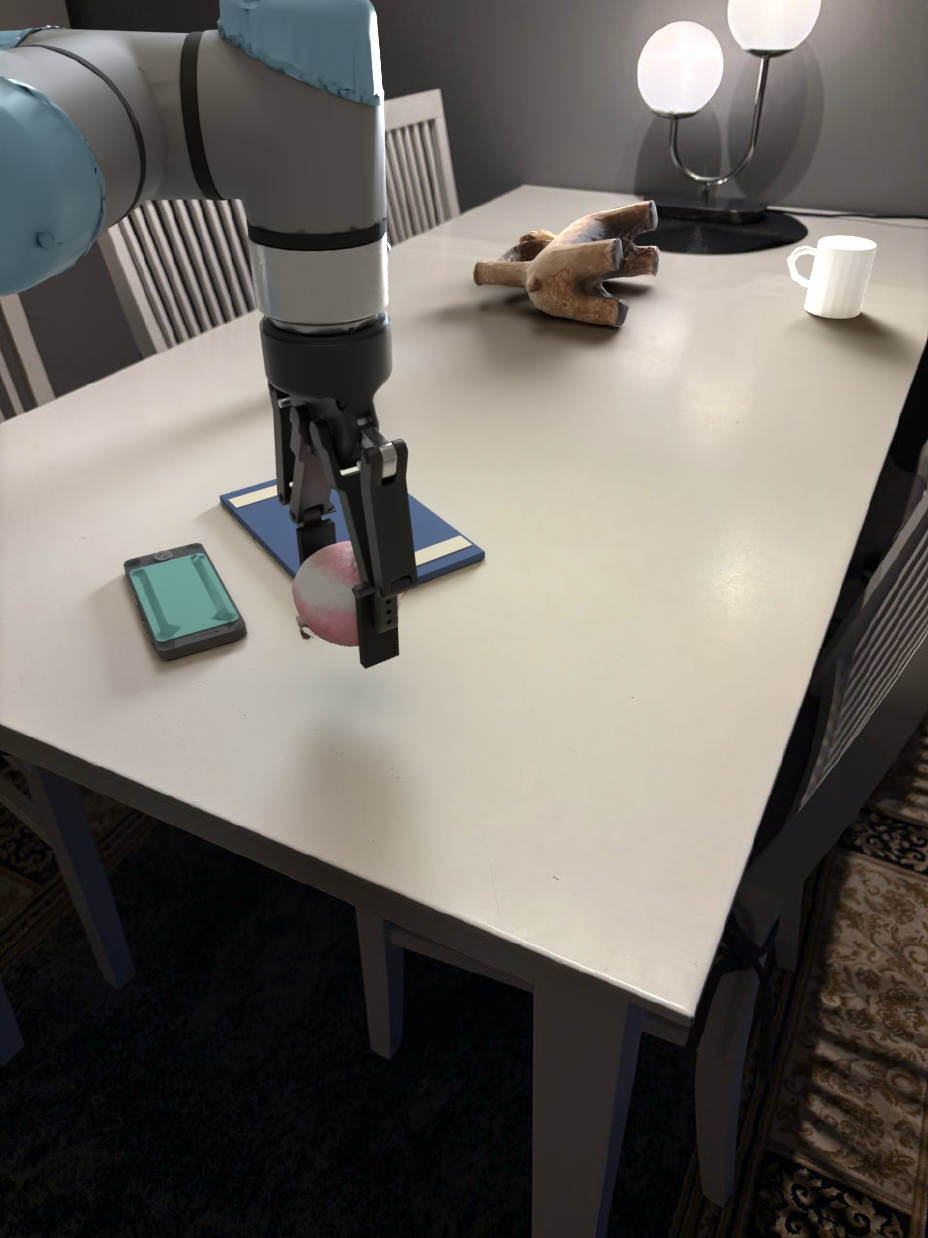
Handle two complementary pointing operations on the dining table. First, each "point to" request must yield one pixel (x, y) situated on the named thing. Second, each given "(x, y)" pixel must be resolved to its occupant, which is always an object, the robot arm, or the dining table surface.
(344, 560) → the onion
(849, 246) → the mug
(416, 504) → the towel
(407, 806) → the dining table surface
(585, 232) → the ceramic vessel
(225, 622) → the smartphone
